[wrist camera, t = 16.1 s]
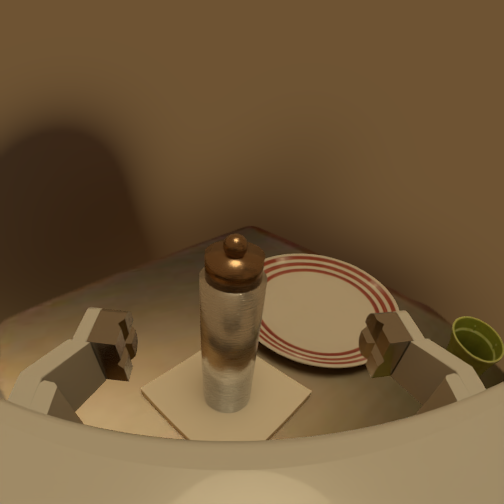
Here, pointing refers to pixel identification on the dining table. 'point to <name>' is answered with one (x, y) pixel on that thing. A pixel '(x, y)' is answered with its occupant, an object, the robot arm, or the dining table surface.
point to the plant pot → (475, 343)
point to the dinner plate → (319, 309)
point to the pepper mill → (230, 320)
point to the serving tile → (225, 424)
